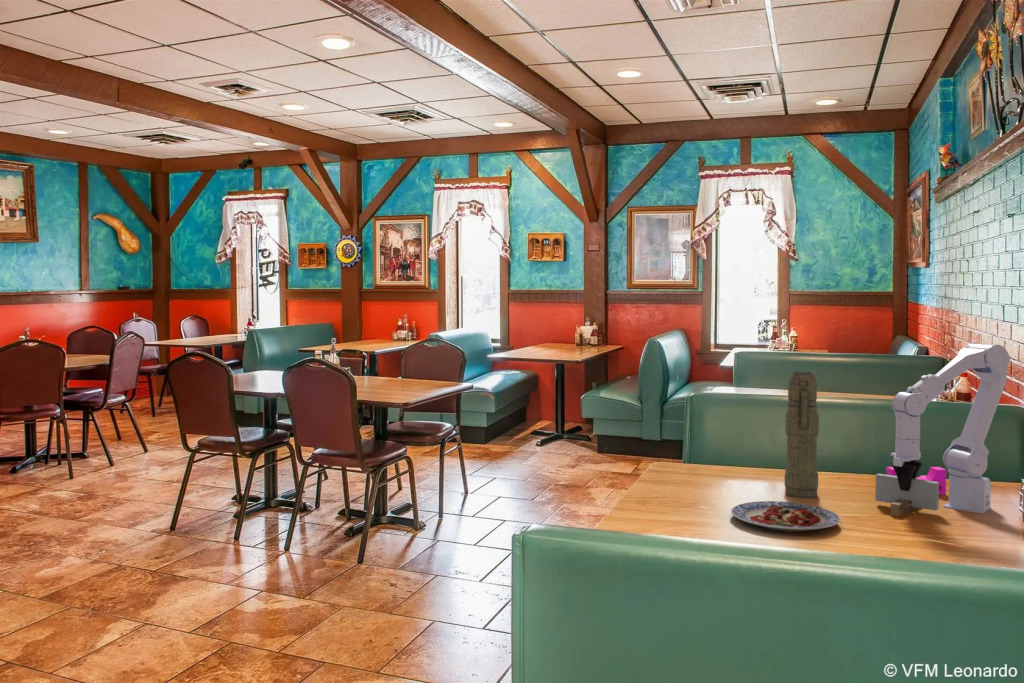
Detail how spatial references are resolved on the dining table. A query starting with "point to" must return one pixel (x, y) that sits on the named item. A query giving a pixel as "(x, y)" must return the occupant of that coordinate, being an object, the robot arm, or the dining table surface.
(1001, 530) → the dining table surface
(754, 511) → the ceramic plate
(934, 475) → the toy block
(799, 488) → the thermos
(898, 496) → the slate plate
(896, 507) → the walnut rail
